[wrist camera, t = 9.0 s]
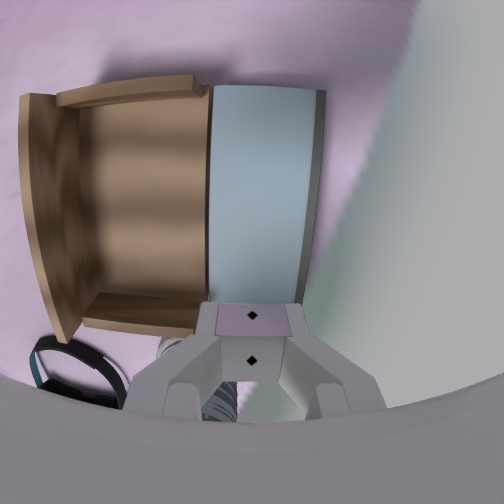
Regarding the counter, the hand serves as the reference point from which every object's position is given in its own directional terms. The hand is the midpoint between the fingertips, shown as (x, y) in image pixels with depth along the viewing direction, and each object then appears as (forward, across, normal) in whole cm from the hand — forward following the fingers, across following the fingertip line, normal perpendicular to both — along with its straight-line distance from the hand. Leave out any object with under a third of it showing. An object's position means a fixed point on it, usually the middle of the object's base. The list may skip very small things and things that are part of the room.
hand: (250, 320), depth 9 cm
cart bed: (+21, +10, +1) cm, 24 cm away
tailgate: (+18, +3, +1) cm, 18 cm away
